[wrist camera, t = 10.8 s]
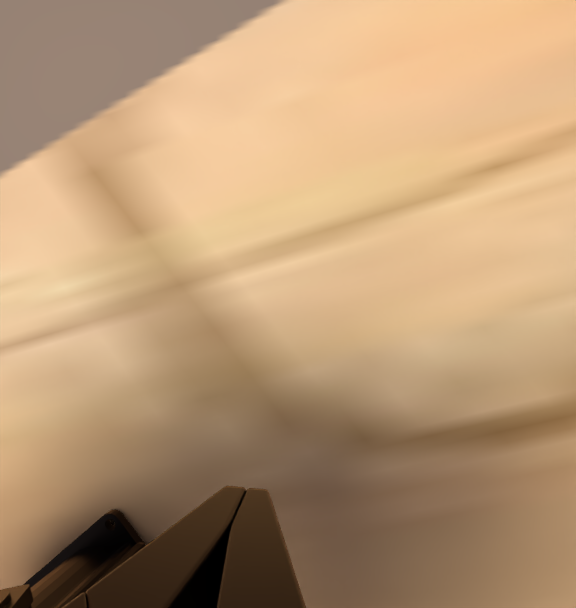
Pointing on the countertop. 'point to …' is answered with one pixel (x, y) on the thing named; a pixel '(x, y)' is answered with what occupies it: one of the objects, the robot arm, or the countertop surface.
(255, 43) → the countertop surface
